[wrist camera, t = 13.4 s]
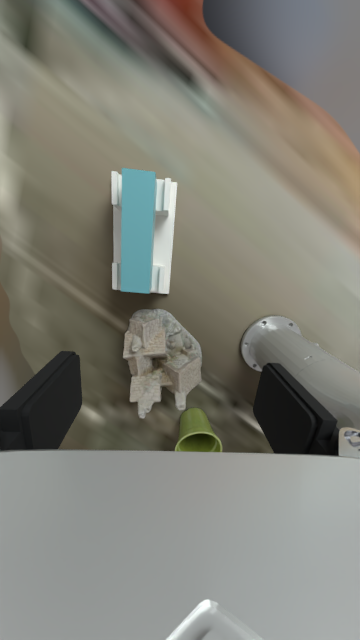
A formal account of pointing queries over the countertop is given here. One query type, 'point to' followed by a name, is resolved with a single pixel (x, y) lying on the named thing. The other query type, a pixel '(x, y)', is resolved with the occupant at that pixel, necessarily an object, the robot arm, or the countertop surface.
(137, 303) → the countertop surface
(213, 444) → the plant pot
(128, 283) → the teal rectangular stick
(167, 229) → the display cradle
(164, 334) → the grey irregular blocky piece
